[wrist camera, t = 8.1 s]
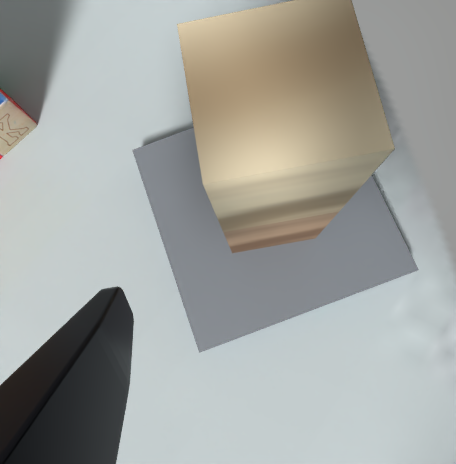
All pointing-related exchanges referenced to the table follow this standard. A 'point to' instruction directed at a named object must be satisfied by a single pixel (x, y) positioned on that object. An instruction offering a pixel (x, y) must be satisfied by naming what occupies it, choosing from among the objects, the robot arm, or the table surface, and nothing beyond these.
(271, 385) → the table surface
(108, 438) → the robot arm
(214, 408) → the table surface
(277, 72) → the tower
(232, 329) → the plate
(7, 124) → the stack of blocks
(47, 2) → the table surface
